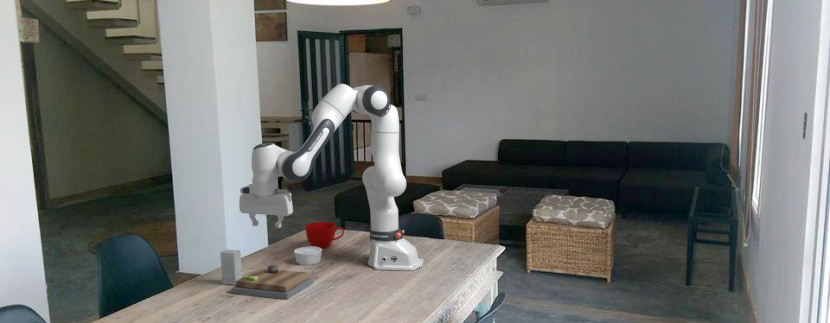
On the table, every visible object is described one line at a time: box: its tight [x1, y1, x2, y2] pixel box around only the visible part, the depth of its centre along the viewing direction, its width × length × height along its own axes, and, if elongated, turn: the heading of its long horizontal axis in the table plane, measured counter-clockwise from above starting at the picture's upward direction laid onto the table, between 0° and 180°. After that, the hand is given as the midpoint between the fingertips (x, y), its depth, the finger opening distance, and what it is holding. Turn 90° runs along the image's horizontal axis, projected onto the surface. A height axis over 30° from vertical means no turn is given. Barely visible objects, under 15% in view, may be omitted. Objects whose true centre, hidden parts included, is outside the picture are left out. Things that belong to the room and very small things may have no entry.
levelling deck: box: [235, 264, 310, 292], centre depth 222 cm, size 20×16×4 cm
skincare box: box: [219, 249, 243, 286], centre depth 229 cm, size 6×4×12 cm
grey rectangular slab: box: [231, 277, 314, 300], centre depth 223 cm, size 22×18×2 cm
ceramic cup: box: [305, 221, 345, 250], centre depth 277 cm, size 13×17×10 cm
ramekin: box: [293, 245, 323, 266], centre depth 255 cm, size 11×11×5 cm
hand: (266, 226), depth 225 cm, fingers open, 8 cm apart
